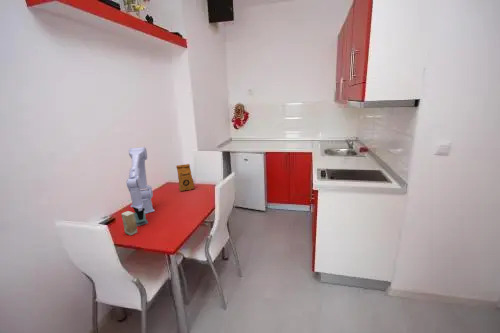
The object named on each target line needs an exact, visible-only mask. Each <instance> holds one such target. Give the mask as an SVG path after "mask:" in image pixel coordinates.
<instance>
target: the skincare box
mask: <svg viewBox="0 0 500 333" xmlns="http://www.w3.org/2000/svg"><path fill="white" fill-rule="evenodd" d="M134 213H135V212H132V211H129V210H127V211H124V212H122V213H121V219H122V222H123V223H122V224H123V229H124V233H125V234H126V235H129V236H132V235H133V236H134V234H137V233H138V226H136V220H135V215H134Z"/></svg>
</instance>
